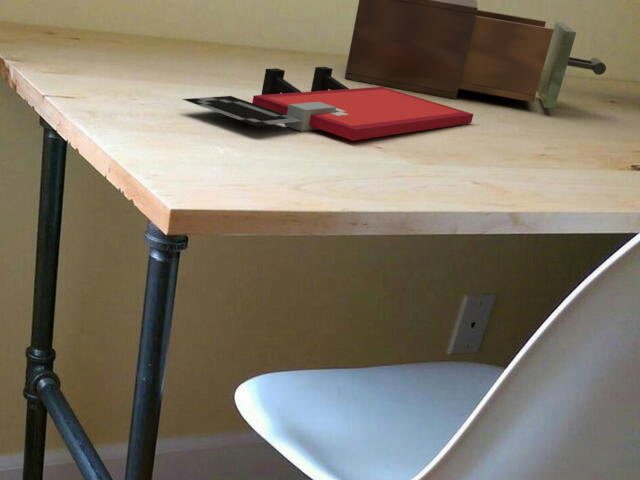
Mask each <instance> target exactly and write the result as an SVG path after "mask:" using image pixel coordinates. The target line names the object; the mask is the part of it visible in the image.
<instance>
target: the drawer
mask: <svg viewBox="0 0 640 480" xmlns="http://www.w3.org/2000/svg"><path fill="white" fill-rule="evenodd" d="M546 23H547V21H546V20H542V19H536V18H530V17H523V16H518V15H513V14H506V13H501V12H495V11H489V10H483V9H478V10H477V14H476V18H475V22H474V27H473V31H472V35H471V39H470V43H469V47H468V51H467V56H466V60H465V64H464V68H463V72H462V76H461V80H460V85H459V89H458V90H465V91H470V92H475V93H481V94H486V95H491V96H497V97H503V98H507V99H513V100H518V101H525V102H529V103H534V102H535V100H536V96H537V95H538V97H539V99H540V101H541V103H542V105H543V108H545V109H551V110H555V108H556V106H557V102H558V98H559V95H560V92H561V88H562V86H563V85H562V84H563V81H564V78H565V74H566V70H567V67H571V68H579V69H584V70H590V71H592V72H593V73H594V74H595V75H597V76H600V75H603V74H605V72H606V71H607V66H606V64H605V63H604V62H603V61H602V60H600V59H599V58H598V57H592V58H590V59H585V58H578V57H573V56H571V53H572V50H573V46H574V43H575V39H576V35H577V31H575V30H574V29H573V28H572V27H570V26H569V25H568V24H567V23H566V22H563V21H557V20H555V21H554V25H553V28H551V27H546Z"/></svg>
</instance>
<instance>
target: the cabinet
mask: <svg viewBox="0 0 640 480" xmlns="http://www.w3.org/2000/svg"><path fill="white" fill-rule="evenodd" d="M477 10H479V7H478V0H358V4H357V9H356V15H355V19H354V20H355V21H354V26H353V31H352V36H351V42H350V47H349V52H348V57H347V62H346V68H345V73H344V79H345V78H348V79H347V80H349V79H353V80H352V81H354V80H358V81H357V82H360V81H363V82H362V83H365V82H367V83H366V84H370V83H372V84H371V85H376V84H377V85H376V86H381V85H383V86H382V87H387V86H388V87H387V88H393V89H397V90H403V89H404V91H408V90H409V91H408V92H414V93H419V94H424V95H430V96H434V97H435V96H436V97H441V98H446V99H452V100H456V99H457V97H458V92H459V90H460V89H459V85H460V80H461V76H462V72H463V68H464V64H465V60H466V56H467V51H468V47H469V43H470V39H471V35H472V31H473V27H474V22H475V18H476V14H477Z"/></svg>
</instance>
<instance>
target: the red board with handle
mask: <svg viewBox="0 0 640 480" xmlns="http://www.w3.org/2000/svg"><path fill="white" fill-rule="evenodd" d="M285 72H286V70H284V69H280V68H277V67H276V68H275V67H274V68H265V71H264V78H263V82H262V88H261V93H260V94H257V95H256V94H255V95H253V96H252V102H250V101H247V100H244V99H242V98H238V97H235V96H233V95H224V96H223V95H222V96H208V97H207V96H205V97H196V98H194V97H193V98H191V97H190V98H182V99H181V100H182V101H185V102H188V103H191V104H193V105H196V106H199V107H202V108H204V109H208V110H211V111H214V112H216V113H218V114H222V115H224V116H226V117H227V116H228V117H230V118H233V119H236V120H238V121H241V122H244V123H246V124H248V125H249V124H250V125H252V126H256V127H261V126H269V125H277V124H279V125H280V124H284V126H285V127H287V128H289V129H290V128H291V129H294V130H296V131H299V132H309V131H316V130H317V131H318V130H320V131H324V132H327V133H330V134H332V135H335V136H339V137H342V138H344V139H347V140H351V141H358V140H366V139H373V138H379V137H386V136H394V135H399V134H400V135H401V134H406V133H413V132H418V131H426V130H432V129H439V128H440V129H441V128H446V127H452V126H453V127H454V126H460V125H466V124H467V125H469V124H472V122H473V118H474V113H471V112H468V111H465V110H461V109H458V108H456V107H455V108H454V107H453V106H452V107H451V106H448V105H446V104H441V103H438V102H436V101H435V102H434V101H431V100H428V99H425V98H421V97H418V96H414V95H410V94H408V93H404V92H401V91H397V90H394V89H390V88H389V87H385V86H372V87H359V88H349V87H347V86H346V85H344V84H343V83H342V82H340V81H339V80H337V79H336V78H334V77H333V76H332V75H333V68H331V67H328V66H315V68H314V73H313V78H312V83H311V87H310V88H311V89H310V91H301V90H300V89H299V88H297V87H295V86H294V85H292V84H291V83H290V82H289V81H287V80H285V79H284V78H285Z"/></svg>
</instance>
